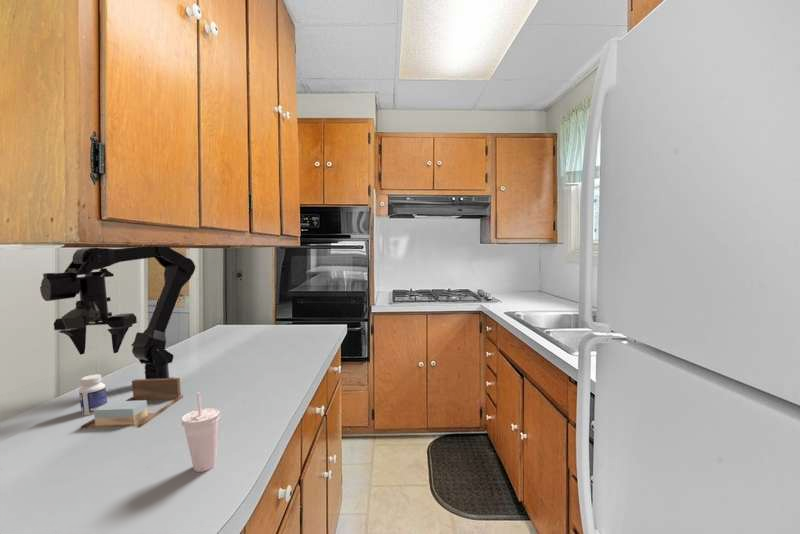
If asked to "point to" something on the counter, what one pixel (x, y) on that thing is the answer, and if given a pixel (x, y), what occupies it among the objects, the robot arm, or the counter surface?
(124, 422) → the offcut lower
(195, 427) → the smoothie
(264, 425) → the counter surface
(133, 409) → the offcut upper
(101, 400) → the pill bottle
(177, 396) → the rack
